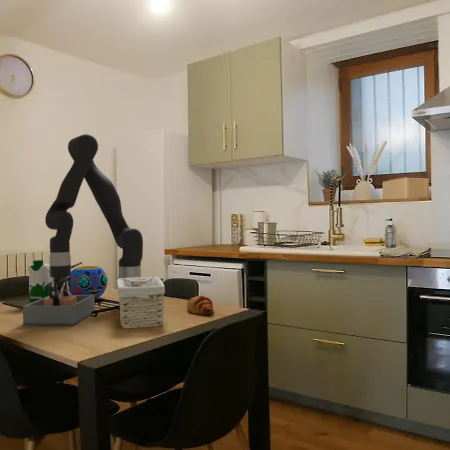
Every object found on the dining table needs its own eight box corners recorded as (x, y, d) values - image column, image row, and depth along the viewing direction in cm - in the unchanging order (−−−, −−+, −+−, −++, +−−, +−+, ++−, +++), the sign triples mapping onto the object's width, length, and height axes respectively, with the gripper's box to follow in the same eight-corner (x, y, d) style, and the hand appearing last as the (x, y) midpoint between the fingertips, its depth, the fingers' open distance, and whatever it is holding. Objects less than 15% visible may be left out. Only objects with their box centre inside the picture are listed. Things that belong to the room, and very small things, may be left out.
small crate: (77, 314, 173) (76, 296, 172) (70, 318, 167) (70, 299, 166) (51, 314, 173) (51, 296, 173) (44, 318, 167) (44, 299, 167)
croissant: (184, 315, 189) (175, 299, 187) (204, 302, 193) (195, 286, 191) (204, 325, 170) (194, 307, 168) (225, 310, 174) (216, 293, 172)
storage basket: (166, 327, 156) (165, 284, 155) (118, 330, 152) (117, 287, 151) (159, 313, 179) (158, 275, 179) (117, 315, 175) (116, 277, 175)
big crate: (94, 312, 180) (94, 295, 180) (72, 326, 158) (72, 306, 158) (50, 312, 181) (50, 295, 181) (23, 326, 159) (22, 306, 159)
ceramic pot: (76, 304, 197) (76, 270, 196) (62, 299, 210) (61, 267, 210) (114, 299, 208) (113, 267, 207) (98, 294, 221) (97, 264, 221)
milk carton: (26, 308, 191) (25, 261, 190) (37, 304, 200) (36, 259, 199) (46, 308, 190) (45, 261, 190) (56, 304, 199) (55, 258, 199)
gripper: (62, 266, 162) (63, 311, 162) (77, 261, 176) (78, 303, 177) (41, 266, 162) (42, 311, 163) (58, 262, 177) (59, 303, 177)
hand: (61, 306), depth 170 cm, fingers open, 8 cm apart
